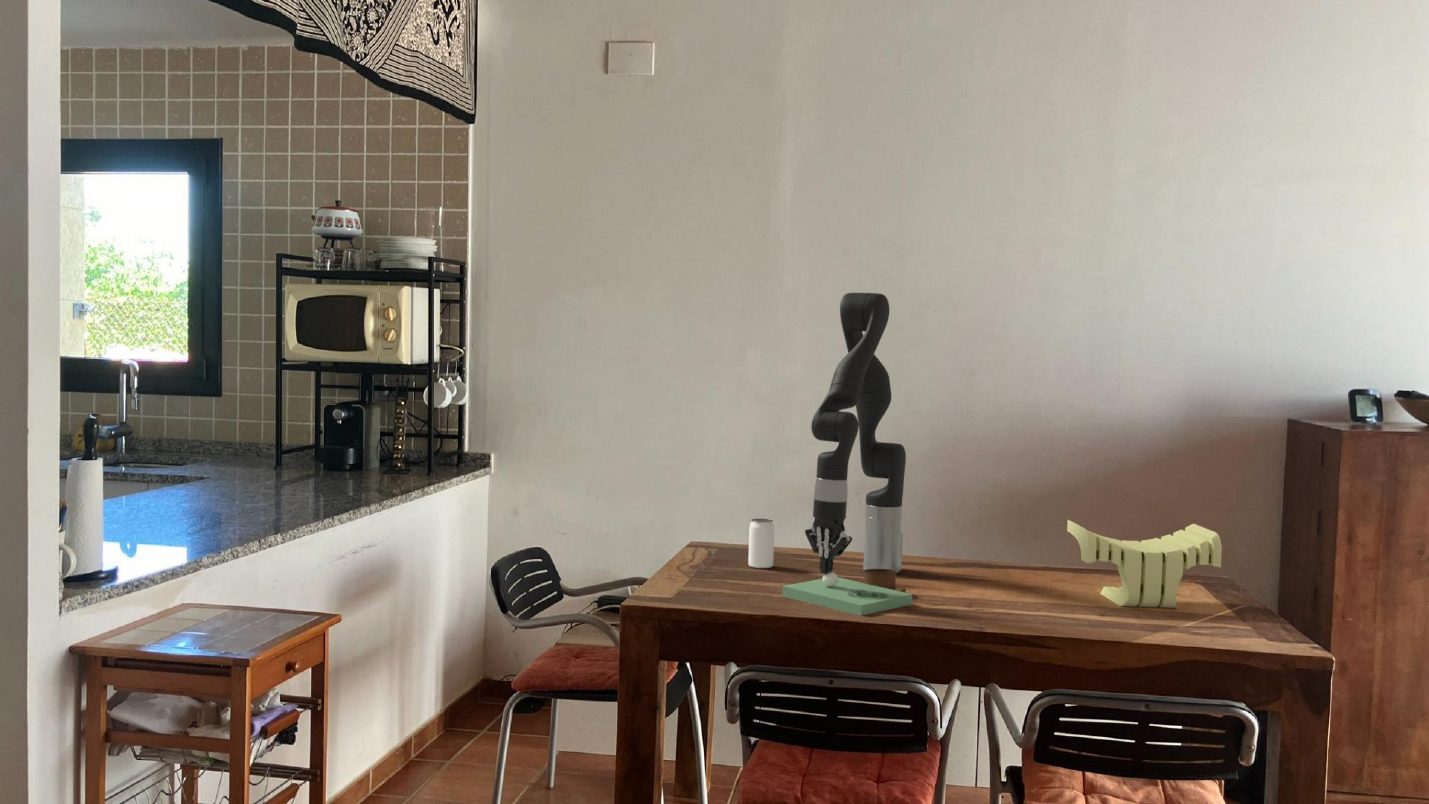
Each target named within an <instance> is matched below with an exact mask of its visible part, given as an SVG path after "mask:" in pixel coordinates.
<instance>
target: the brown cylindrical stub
mask: <svg viewBox="0 0 1429 804" xmlns="http://www.w3.org/2000/svg"><path fill="white" fill-rule="evenodd" d="M896 574H897V573H896V571H895V570H891V569H866V570H863V583H865V584H869V585H873V586H878V587H883V588H887V589H891V590H896V591H900V592H905V593H906V588H905V587H902V586H896V579H897V578H896Z"/></svg>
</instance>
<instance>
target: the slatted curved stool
mask: <svg viewBox="0 0 1429 804" xmlns="http://www.w3.org/2000/svg"><path fill="white" fill-rule="evenodd" d="M1066 527H1067V530H1066V532H1068V533H1069V534H1071V535H1072V536H1073V537H1074V538H1075V539H1076V540H1077V542H1078V545H1079V548H1080V558H1081V559H1080V560H1081V561H1083V562H1084V563H1086V564H1091V563H1092V564H1093V563H1096V562H1097V561H1098V562H1107V563H1108V562H1111V563H1113V564H1114V565H1115V566H1116V567H1117V568H1116V569H1117V571H1118V574H1119V576H1120V580H1121V581H1120V582H1121V586H1119V587H1116V586H1106V585H1105V586H1103V588H1102V589H1101V591H1100V593H1099V594H1101V595H1102V596H1103V597H1105V598H1107V599H1108V600H1110V601H1111V602H1113V603H1114V604H1116V605H1118V606H1119V607H1135V608H1136V607H1137V606H1138V607H1139V608H1157V607H1159V608H1163V609H1164V608H1165V609H1167V608H1169V609H1176V608H1177V594H1178V593H1177V592H1178V588H1179V585H1180V582H1181V579H1182V578H1183V575H1184V569H1185V570H1189V569H1190V568H1192V567H1196V565H1199V566H1203V565H1205V566H1209V565H1210V566H1212V567H1215V568H1220V569H1221V568H1222V553H1223V549H1222V548H1223V547H1222V540H1221V537H1220V536H1219V533H1217V532H1216V531H1213V530H1210V529H1208V528H1205V527H1204V526H1201V525H1199V524H1196V523H1192V524H1189V525H1188V526H1186V527H1184V529H1185V530H1183V529H1179V530H1177V531H1174V532H1173V534H1166V535H1163V536H1160V538H1159V537H1155V538H1151V539H1143V540H1141V541H1139V540H1125V539H1124V540H1123V539H1122V540H1119V539H1118V538H1117V539H1116V538H1110V537H1108V536H1103V535H1100V534H1097V533H1095V532H1093V531H1090V530H1088V529H1087V528H1085V527H1083V526H1081V525H1079V524H1078V523H1075V522H1073V521H1071V520H1070V519H1067V526H1066Z"/></svg>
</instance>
